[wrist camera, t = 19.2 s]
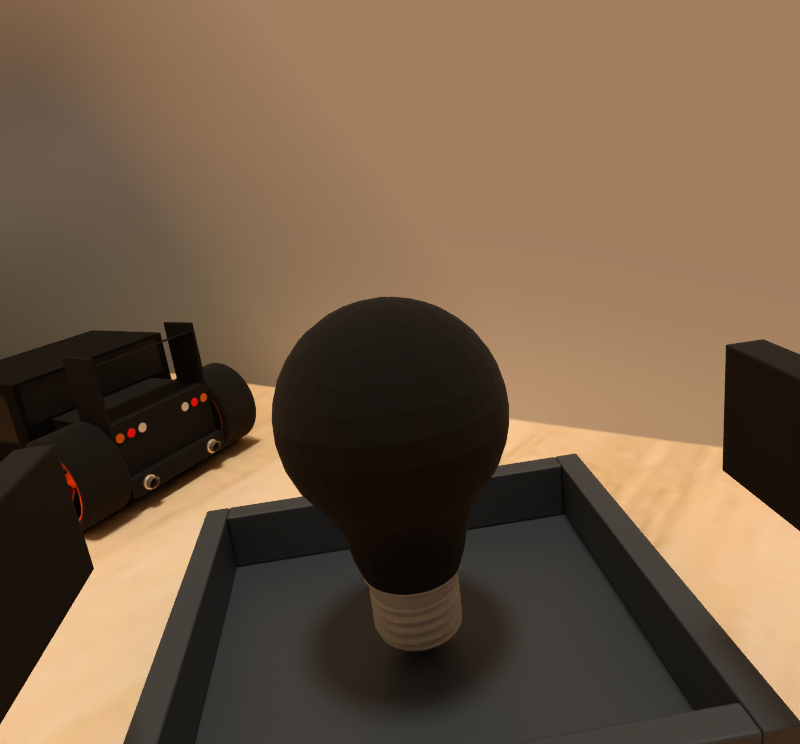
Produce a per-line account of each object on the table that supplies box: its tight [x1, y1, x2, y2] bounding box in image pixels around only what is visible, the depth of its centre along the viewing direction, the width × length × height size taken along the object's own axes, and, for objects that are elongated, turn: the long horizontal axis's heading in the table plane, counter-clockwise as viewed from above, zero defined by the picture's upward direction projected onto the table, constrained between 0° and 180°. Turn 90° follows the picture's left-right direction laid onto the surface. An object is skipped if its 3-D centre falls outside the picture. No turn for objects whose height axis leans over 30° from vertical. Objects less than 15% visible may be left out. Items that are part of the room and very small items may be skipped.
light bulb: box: [272, 297, 509, 652], centre depth 17 cm, size 6×6×10 cm
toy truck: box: [0, 322, 256, 532], centre depth 36 cm, size 10×20×7 cm, turn 60°
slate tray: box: [123, 454, 800, 744], centre depth 19 cm, size 14×13×3 cm
